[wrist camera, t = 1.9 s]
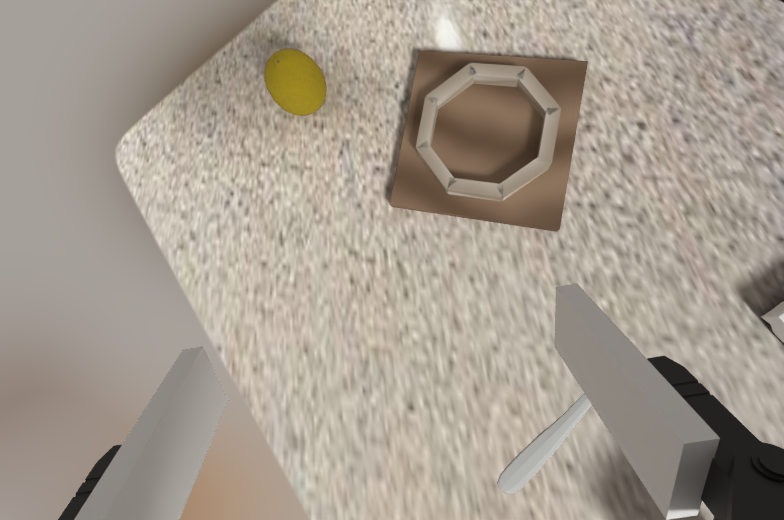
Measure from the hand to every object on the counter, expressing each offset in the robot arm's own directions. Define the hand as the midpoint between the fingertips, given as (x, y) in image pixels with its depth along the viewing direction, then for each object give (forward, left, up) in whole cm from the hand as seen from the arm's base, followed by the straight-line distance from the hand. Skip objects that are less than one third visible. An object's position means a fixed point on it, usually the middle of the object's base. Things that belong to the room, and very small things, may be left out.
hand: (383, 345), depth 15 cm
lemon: (-20, -18, -25) cm, 36 cm away
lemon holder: (-18, +1, -25) cm, 31 cm away
